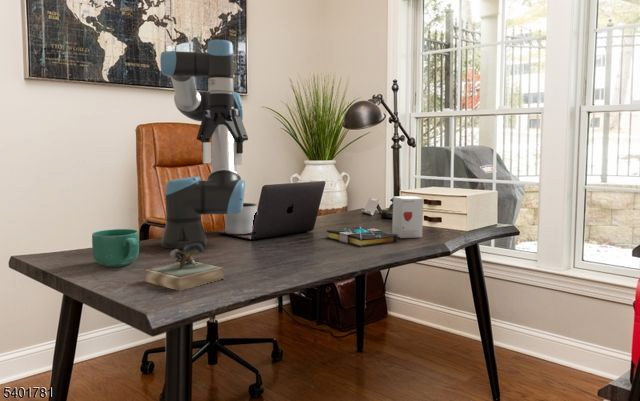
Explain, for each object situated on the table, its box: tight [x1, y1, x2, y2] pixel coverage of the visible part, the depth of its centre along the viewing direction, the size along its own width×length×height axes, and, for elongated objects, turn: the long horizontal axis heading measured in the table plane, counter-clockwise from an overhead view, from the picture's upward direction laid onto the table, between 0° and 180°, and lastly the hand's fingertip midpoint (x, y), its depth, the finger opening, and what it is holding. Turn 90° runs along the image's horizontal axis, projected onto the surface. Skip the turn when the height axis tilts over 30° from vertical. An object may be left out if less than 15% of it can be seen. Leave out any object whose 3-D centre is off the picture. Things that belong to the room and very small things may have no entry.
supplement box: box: [391, 195, 424, 239], centre depth 204 cm, size 9×9×15 cm
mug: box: [91, 228, 140, 268], centre depth 153 cm, size 17×13×10 cm
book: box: [325, 225, 399, 248], centre depth 196 cm, size 22×17×5 cm
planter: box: [224, 202, 258, 235], centre depth 209 cm, size 12×13×11 cm
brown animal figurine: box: [169, 240, 208, 269], centre depth 139 cm, size 8×7×9 cm
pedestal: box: [144, 262, 225, 292], centre depth 137 cm, size 14×14×3 cm
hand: (221, 164), depth 163 cm, fingers open, 13 cm apart
